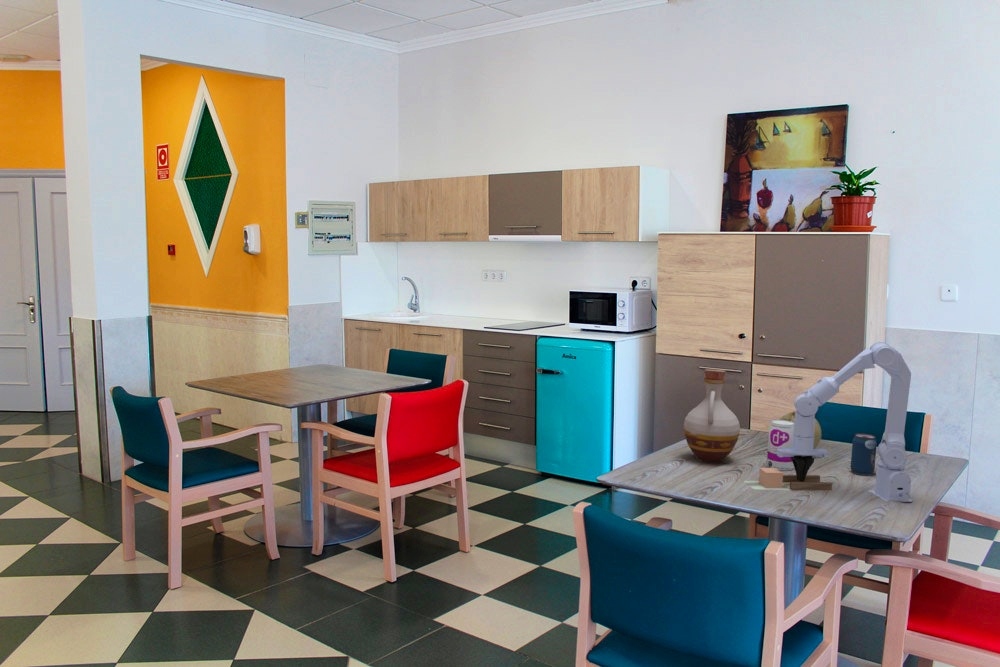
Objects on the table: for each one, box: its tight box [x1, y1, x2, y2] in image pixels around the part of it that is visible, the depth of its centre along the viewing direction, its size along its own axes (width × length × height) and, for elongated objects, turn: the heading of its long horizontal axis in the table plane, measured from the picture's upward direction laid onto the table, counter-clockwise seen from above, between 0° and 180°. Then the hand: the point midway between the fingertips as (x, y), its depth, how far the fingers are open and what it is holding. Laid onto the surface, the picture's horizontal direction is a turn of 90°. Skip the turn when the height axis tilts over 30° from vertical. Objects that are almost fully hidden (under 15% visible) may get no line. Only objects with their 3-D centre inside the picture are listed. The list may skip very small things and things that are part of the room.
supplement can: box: [766, 419, 795, 471], centre depth 256 cm, size 8×8×15 cm
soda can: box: [850, 433, 878, 476], centre depth 254 cm, size 7×7×12 cm
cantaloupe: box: [779, 410, 822, 449], centre depth 275 cm, size 15×15×15 cm
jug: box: [683, 368, 741, 464], centre depth 262 cm, size 20×18×30 cm
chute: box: [743, 474, 833, 491], centre depth 236 cm, size 9×23×2 cm, turn 94°
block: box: [758, 467, 784, 488], centre depth 236 cm, size 5×5×4 cm
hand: (800, 480), depth 237 cm, fingers closed
